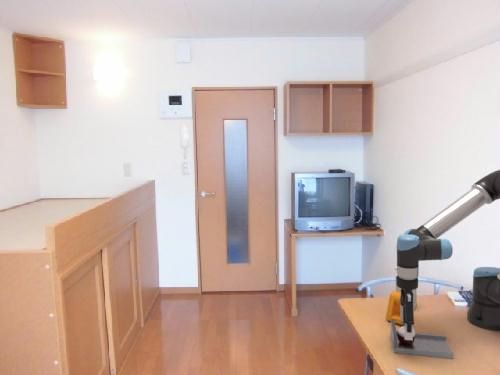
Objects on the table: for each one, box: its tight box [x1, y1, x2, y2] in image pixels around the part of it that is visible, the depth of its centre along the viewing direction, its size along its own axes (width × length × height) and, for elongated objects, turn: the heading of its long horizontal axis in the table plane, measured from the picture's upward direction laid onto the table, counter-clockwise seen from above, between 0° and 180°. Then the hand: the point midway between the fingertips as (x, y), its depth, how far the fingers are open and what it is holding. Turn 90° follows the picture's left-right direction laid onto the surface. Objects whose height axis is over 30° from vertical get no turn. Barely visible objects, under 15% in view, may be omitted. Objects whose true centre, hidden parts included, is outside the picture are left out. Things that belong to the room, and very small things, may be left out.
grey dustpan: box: [390, 319, 455, 360], centre depth 146 cm, size 20×13×7 cm, turn 75°
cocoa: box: [396, 307, 416, 345], centre depth 147 cm, size 10×6×12 cm, turn 142°
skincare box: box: [395, 273, 418, 311], centre depth 179 cm, size 8×7×16 cm
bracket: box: [385, 290, 404, 326], centre depth 167 cm, size 11×7×12 cm, turn 134°
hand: (406, 330), depth 147 cm, fingers open, 13 cm apart
